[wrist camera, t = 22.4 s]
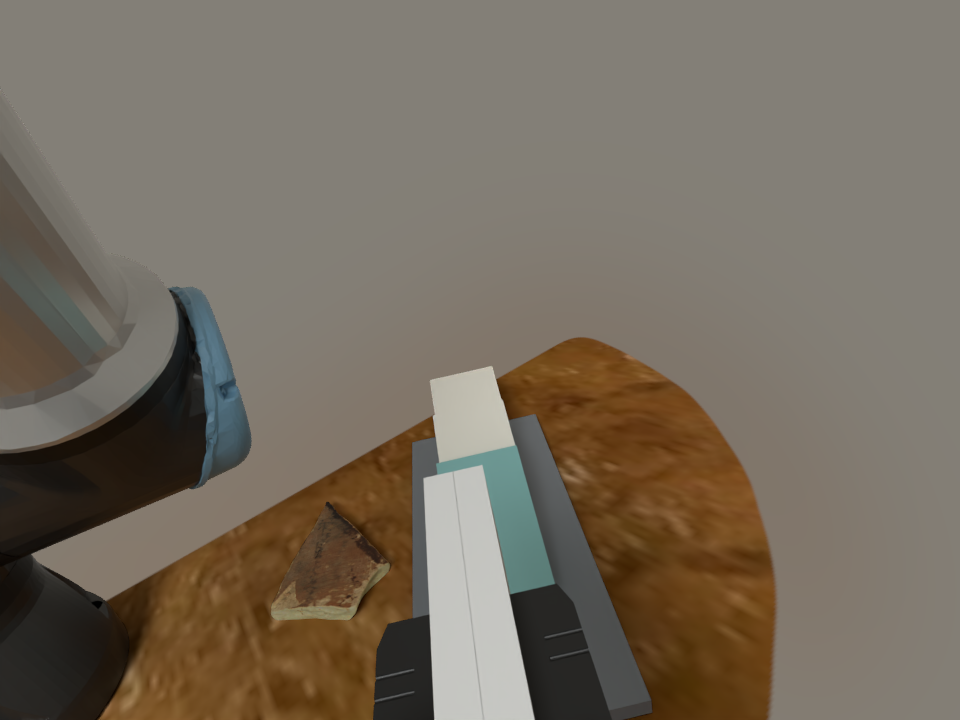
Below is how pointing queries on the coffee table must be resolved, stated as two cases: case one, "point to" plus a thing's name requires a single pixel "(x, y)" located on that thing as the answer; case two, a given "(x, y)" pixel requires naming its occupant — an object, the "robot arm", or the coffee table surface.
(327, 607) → the shard
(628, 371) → the coffee table surface
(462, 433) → the ivory domino
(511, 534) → the teal domino
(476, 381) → the ivory domino
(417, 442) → the slate runway
